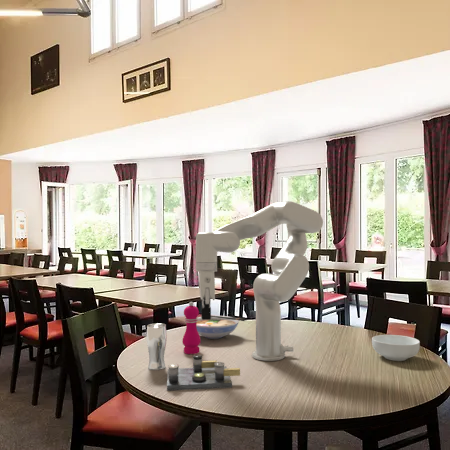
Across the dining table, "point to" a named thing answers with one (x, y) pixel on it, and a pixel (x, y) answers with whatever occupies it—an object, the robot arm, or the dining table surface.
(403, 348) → the cereal bowl
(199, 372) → the base plate
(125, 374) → the dining table surface
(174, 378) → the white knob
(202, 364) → the tan lever handle
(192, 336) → the pepper mill
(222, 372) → the grey knob
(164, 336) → the beer glass
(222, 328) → the ramen bowl
